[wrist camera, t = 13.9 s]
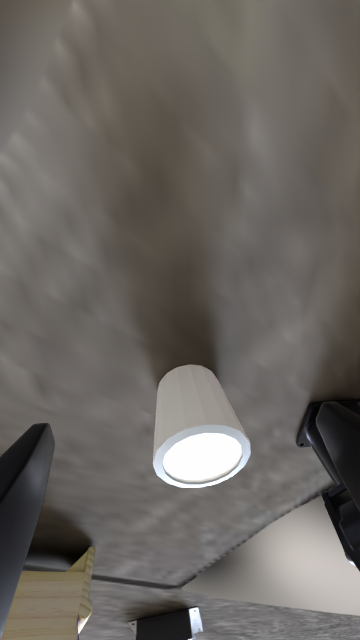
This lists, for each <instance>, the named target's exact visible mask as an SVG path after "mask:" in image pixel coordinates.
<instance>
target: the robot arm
mask: <svg viewBox="0 0 360 640" xmlns="http://www.w3.org/2000/svg"><path fill="white" fill-rule="evenodd" d="M296 444H297V446H298V447H300V448H301V447H312V448H313V450H314V451H315V453H316V455H317V456H318V458H319V459H320V461H321V463H322V464H323V466H324V467H325V469H326V471H327V472H328V474H329V475H330V477H331V479H332V480H333V482H334V483H335V485H336V487H334V488H332V489H331V490H329V491H325V492H323V493H322V494H321V495H322V497H323V500H324V502H325V507H326V509H327V511H328V514H329V516H330V518H331V521H332V523H333V525H334V528H335V530H336V532H337V534H338V537H339V539H340V541H341V544H342V546H343V549H344V552H345V555H346V557H347V559H348V561H349V562H350V563H352V564H354V565H355V566H356V567H357V568H358V570H359V571H360V399H358V400H344V401H331V402H318V403H312V404H310V405H309V407H308V410H307V413H306V415H305V418H304V421H303V424H302V426H301V429H300V432H299V435H298V438H297V440H296ZM54 446H55V441H54V437H53V434H52V431H51V427H50V425H49V424H48V423H39V424H34V425H32V426H31V427H30V428H29V429H28V430H27V431H26V432H25V433H24V434H23V435H22V436H21V437H20V438H19V439H18V440H17V441H16V442H15V443H14V444H13V445H12V446H11V447H10V448H9V449H8V450H7V451H6V452H5V453H4V454H3V455H2V456H1V457H0V640H1V637H2V634H3V630H4V627H5V624H6V621H7V617H8V614H9V611H10V608H11V605H12V601H13V598H14V595H15V592H16V589H17V585H18V582H19V579H20V576H21V572H22V569H23V566H24V563H25V560H26V556H27V553H28V550H29V547H30V544H31V540H32V537H33V534H34V531H35V527H36V524H37V521H38V518H39V515H40V511H41V508H42V504H43V501H44V496H45V491H46V487H47V482H48V477H49V472H50V467H51V462H52V457H53V452H54Z"/></svg>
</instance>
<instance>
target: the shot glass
mask: <svg viewBox="0 0 360 640" xmlns="http://www.w3.org/2000/svg"><path fill="white" fill-rule="evenodd" d="M250 455H251V450H250V441H249V439H248V437H247V435H246V433H245V431H244V430H243V428H242V426H241V424H240V422H239V420H238V418H237V416H236V414H235V412H234V410H233V408H232V406H231V404H230V402H229V401H228V399H227V397H226V395H225V393H224V391H223V389H222V387H221V385H220V383H219V381H218V379H217V378H216V376H215V375H214V374H213V372H212V371H211V370H209V369H207V368H205V367H203V366H200V365H191V364H189V365H184V366H180V367H176V368H175V369H173V370H171V371H169V372H168V373H166V375H165V376H164V377H163V378H162V379H161V381H160V383H159V387H158V391H157V407H156V422H155V438H154V454H153V466H154V468H155V471H156V474H157V475H158V476H159V477H160V478H161V479H163V480H164V481H165V482H167V483H168V484H172V485H175V486H179V487H182V488H200V487H205V486H209V485H214V484H218V483H220V482H222V481H224V480H226V479H228V478H230V477H232V476H234V475H235V474H236V473H237V472H238V471H239V470H240V469H242V468H243V467H244V466H245V464H246V462H247V460H248V458H249V456H250Z"/></svg>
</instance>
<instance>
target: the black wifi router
mask: <svg viewBox="0 0 360 640" xmlns="http://www.w3.org/2000/svg"><path fill="white" fill-rule="evenodd" d="M194 610H196V611H194ZM132 623H134V625H133V624H132ZM128 624H129V625H130V627H131V629H132V630H133V632H134V633H135V635H136V640H196V632H201V631H203V628H202V623H201V618H200V614H199V609H198V607H195V608H190V609H186V610H181V611H176V612H172V613H167V614H162V615H158V616H153V617H148V618H144V619H139V620H134V621H130V622H128ZM198 629H200V630H198Z"/></svg>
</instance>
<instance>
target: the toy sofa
mask: <svg viewBox="0 0 360 640" xmlns="http://www.w3.org/2000/svg"><path fill="white" fill-rule="evenodd" d="M95 550H96V549H95V547H89V549H88V551H87V552H86V553H85V554H84V555H83V556H82V557H81V558H80V559H79V560H78V561H77V562H76V563H75V564H74V565H72V566H71V567H70V568H69V569H68V570H67V571H66V572H39V571H22V572H21V576H20V579H19V582H18V585H17V589H16V592H15V595H14V598H13V601H12V605H11V608H10V611H9V614H8V617H7V621H6V624H5V627H4V630H3V634H2V637H1V640H79V633H80V631H81V629H82V628H83V626H84V624H85V623H86V621H87V620H88V618H89V616H90V615H91V612H92V603H91V601H90V600H89V599H88V597H89V589H90V582H91V576H92V569H93V562H94V556H95Z"/></svg>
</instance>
